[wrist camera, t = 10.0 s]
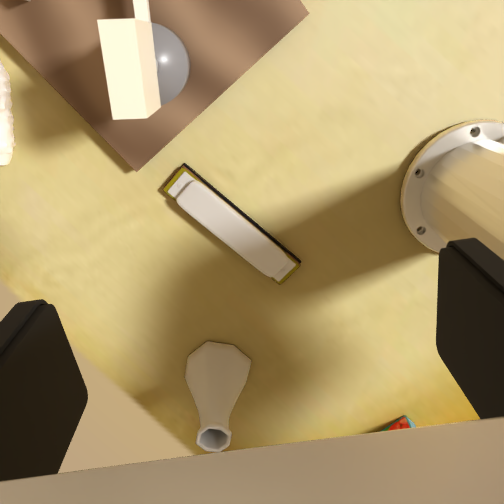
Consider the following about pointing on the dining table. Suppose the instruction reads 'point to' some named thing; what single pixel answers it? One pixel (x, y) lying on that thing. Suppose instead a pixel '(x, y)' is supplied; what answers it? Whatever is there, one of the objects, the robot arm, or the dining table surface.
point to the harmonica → (231, 224)
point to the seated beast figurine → (5, 118)
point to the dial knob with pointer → (142, 63)
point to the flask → (216, 390)
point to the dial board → (161, 12)
